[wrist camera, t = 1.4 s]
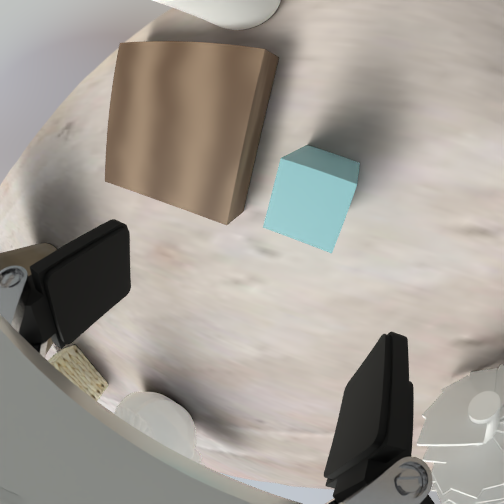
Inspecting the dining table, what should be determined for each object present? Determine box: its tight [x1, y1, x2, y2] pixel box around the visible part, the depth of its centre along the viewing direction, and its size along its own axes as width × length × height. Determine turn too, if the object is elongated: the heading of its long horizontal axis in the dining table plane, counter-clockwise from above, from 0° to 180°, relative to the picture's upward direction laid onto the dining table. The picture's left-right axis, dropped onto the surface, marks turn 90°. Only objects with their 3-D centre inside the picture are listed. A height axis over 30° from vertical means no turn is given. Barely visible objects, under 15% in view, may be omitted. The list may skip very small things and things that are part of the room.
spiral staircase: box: [417, 364, 504, 504], centre depth 23 cm, size 18×18×25 cm
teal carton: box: [263, 145, 360, 253], centre depth 23 cm, size 5×5×9 cm
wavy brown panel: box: [105, 41, 279, 225], centre depth 27 cm, size 16×16×4 cm
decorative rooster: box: [114, 392, 205, 466], centre depth 48 cm, size 25×16×25 cm, turn 32°
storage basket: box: [48, 345, 108, 401], centre depth 64 cm, size 24×16×15 cm
